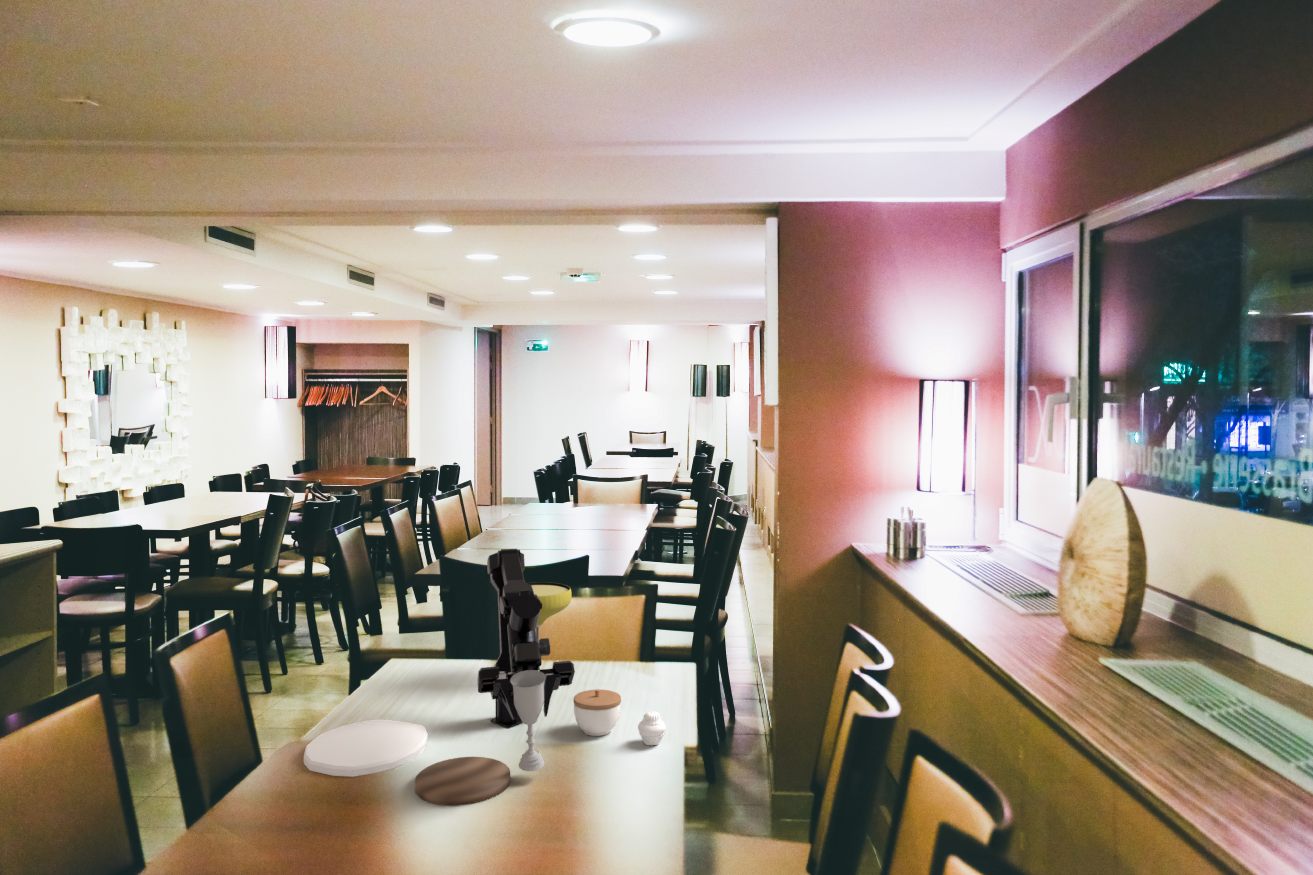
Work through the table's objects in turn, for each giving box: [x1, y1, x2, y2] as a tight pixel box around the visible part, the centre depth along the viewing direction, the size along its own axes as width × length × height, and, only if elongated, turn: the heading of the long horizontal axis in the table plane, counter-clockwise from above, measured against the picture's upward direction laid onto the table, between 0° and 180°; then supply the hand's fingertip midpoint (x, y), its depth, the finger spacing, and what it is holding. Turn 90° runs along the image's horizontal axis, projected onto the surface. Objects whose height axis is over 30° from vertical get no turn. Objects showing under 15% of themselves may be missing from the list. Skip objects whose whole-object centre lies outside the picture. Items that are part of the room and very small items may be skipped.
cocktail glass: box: [527, 581, 573, 685], centre depth 222 cm, size 18×18×25 cm
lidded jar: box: [572, 688, 622, 737], centre depth 189 cm, size 11×11×9 cm
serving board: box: [414, 756, 511, 806], centre depth 162 cm, size 18×18×2 cm
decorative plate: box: [303, 718, 429, 778], centre depth 178 cm, size 25×4×25 cm
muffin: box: [637, 710, 667, 746], centre depth 182 cm, size 6×6×7 cm
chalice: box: [510, 670, 546, 772], centre depth 163 cm, size 7×7×18 cm
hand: (530, 717), depth 161 cm, fingers closed on chalice, 6 cm apart
